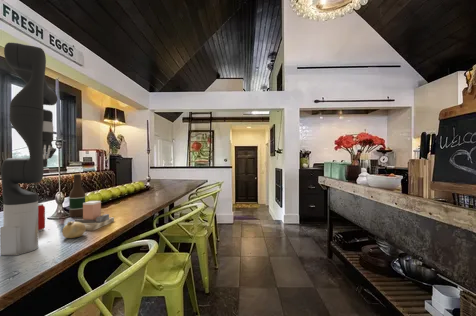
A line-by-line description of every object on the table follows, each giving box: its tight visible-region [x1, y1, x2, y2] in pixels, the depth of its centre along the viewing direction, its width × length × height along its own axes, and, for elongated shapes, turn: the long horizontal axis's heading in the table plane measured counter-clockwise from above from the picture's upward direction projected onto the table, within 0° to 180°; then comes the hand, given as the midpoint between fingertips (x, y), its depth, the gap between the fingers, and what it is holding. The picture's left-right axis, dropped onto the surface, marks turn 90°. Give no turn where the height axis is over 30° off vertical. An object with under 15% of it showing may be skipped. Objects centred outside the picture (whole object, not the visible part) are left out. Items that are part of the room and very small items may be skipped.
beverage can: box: [38, 203, 46, 233], centre depth 108 cm, size 6×6×12 cm
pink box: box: [82, 200, 102, 221], centre depth 117 cm, size 6×5×9 cm
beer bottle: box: [68, 173, 86, 218], centre depth 136 cm, size 8×8×24 cm
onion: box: [61, 220, 87, 239], centre depth 99 cm, size 8×8×7 cm
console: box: [63, 213, 115, 232], centre depth 116 cm, size 16×14×4 cm
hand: (43, 167), depth 114 cm, fingers closed
